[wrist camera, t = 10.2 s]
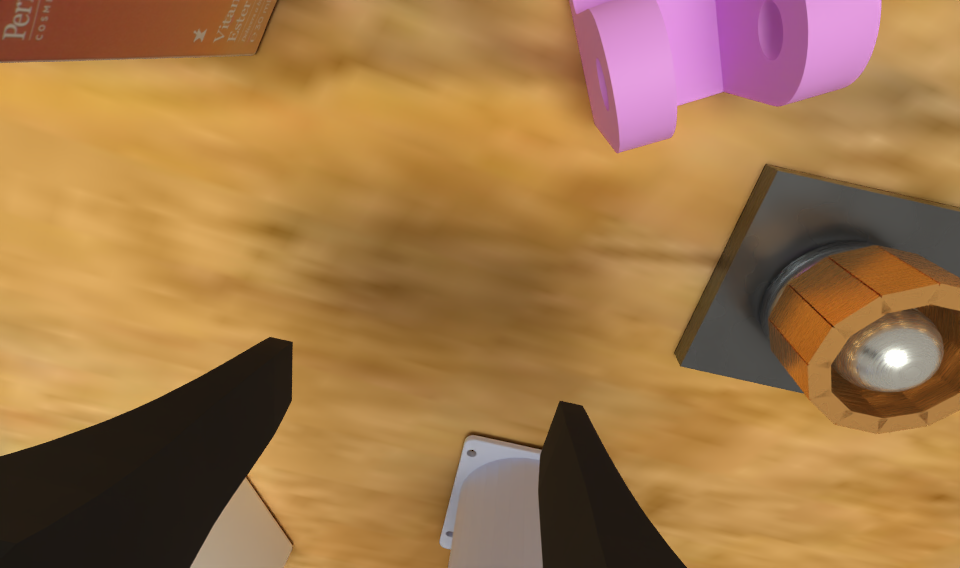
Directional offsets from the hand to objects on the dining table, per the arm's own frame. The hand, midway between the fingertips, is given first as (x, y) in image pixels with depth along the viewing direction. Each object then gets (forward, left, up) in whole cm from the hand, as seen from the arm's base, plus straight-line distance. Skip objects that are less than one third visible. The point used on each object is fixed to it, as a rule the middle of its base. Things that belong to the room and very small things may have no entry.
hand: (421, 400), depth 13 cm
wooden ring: (+2, -15, -7) cm, 17 cm away
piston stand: (+2, -15, -9) cm, 18 cm away
